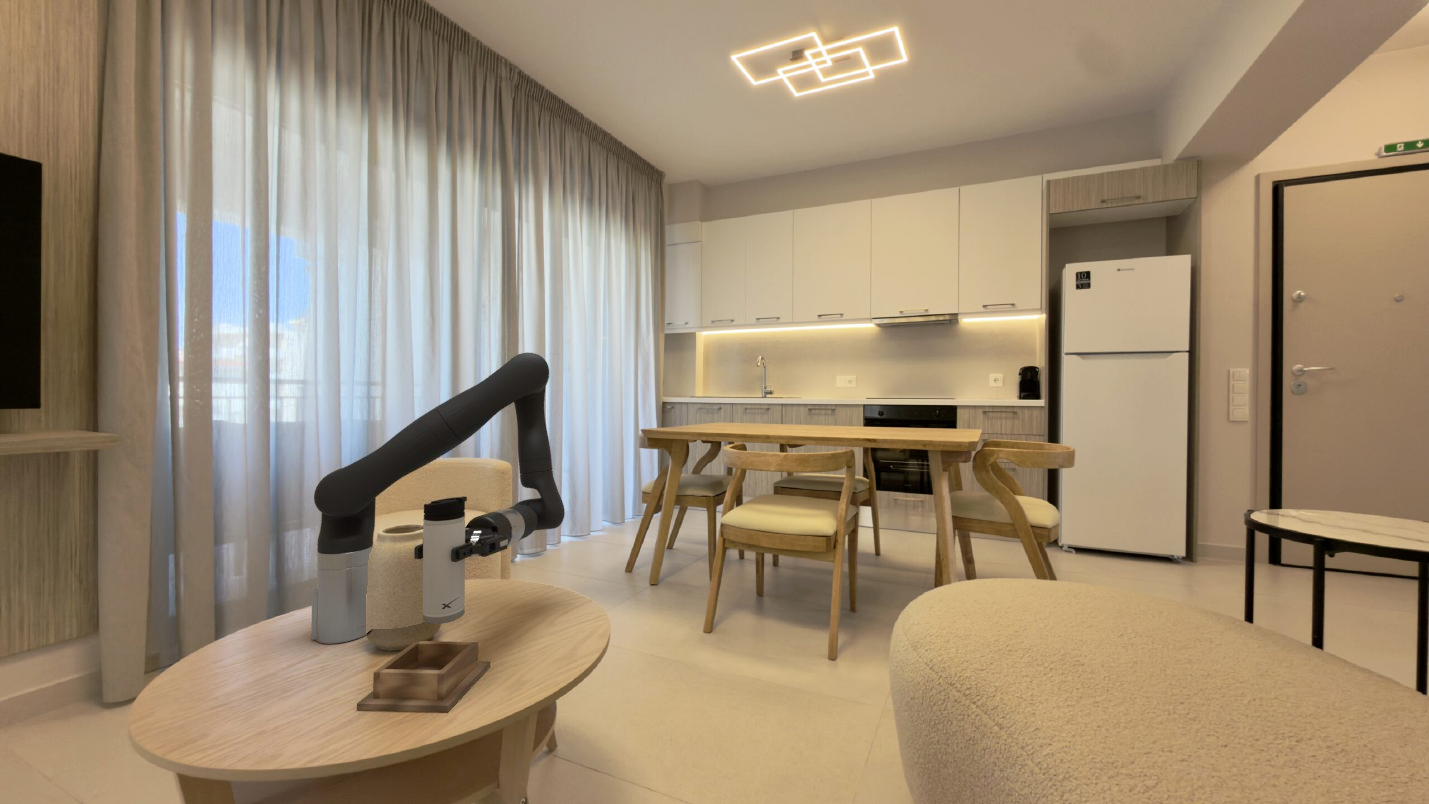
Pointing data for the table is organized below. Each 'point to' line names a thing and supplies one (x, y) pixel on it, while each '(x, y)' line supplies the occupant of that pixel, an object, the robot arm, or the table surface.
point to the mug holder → (425, 677)
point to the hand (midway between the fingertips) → (434, 554)
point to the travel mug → (443, 560)
